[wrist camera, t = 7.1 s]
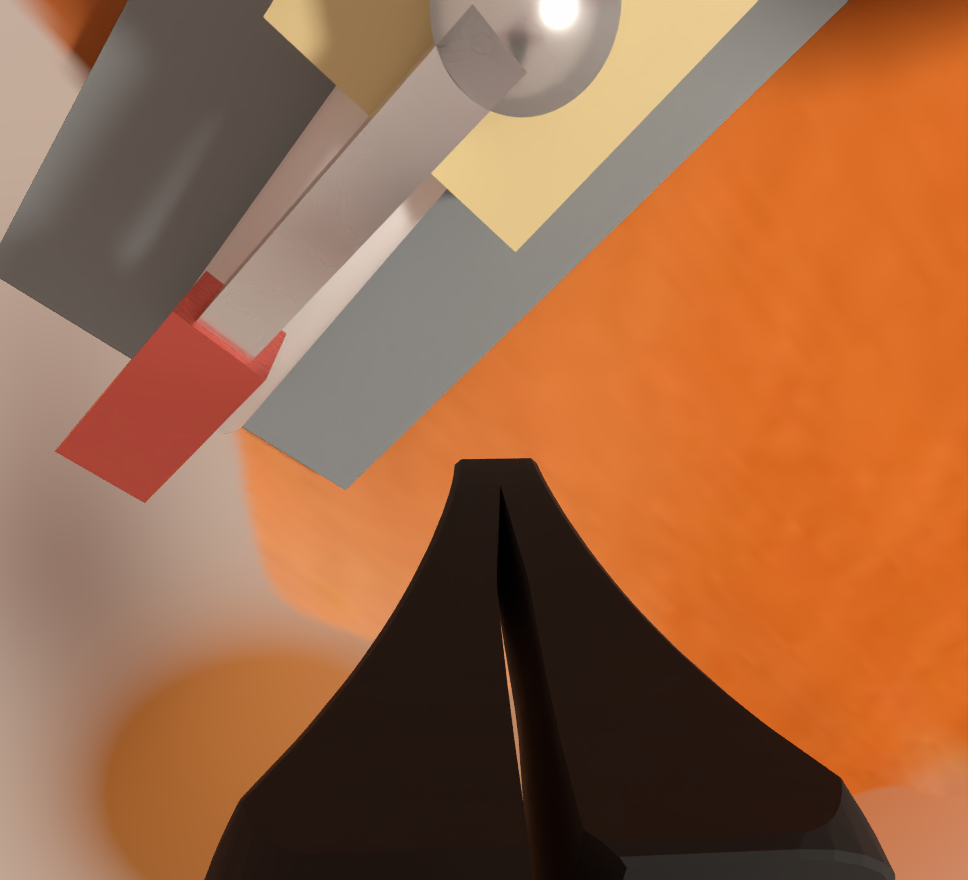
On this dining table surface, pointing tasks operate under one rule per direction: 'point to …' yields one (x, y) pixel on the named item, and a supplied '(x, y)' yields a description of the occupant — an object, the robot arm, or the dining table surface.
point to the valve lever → (334, 227)
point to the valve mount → (405, 234)
